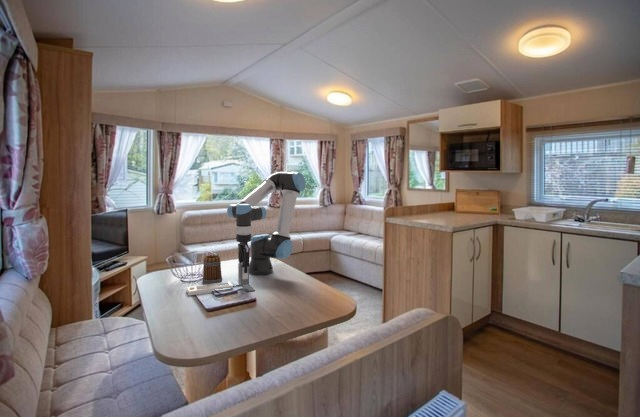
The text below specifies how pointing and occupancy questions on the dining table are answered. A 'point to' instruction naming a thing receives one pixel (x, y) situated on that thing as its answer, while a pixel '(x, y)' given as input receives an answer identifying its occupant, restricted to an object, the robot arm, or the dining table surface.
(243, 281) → the charger
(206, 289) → the power strip
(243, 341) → the dining table surface
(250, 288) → the mat
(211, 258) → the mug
